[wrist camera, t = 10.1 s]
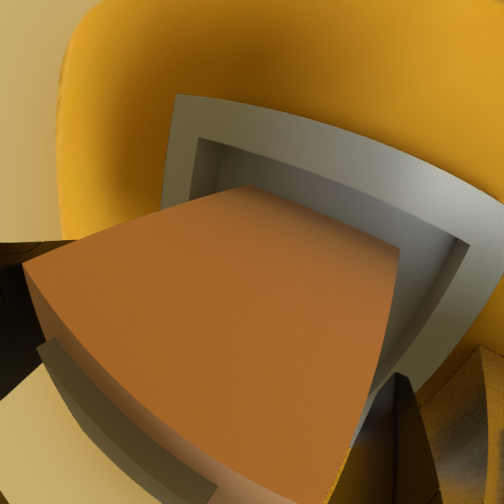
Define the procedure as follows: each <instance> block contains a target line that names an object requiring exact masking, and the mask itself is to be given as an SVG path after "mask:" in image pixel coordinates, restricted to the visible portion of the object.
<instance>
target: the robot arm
mask: <svg viewBox="0 0 504 504" xmlns="http://www.w3.org/2000/svg"><path fill="white" fill-rule="evenodd" d="M74 241H77V240H62V241H44V242H21V243H0V401H1V400H2V399H3V398H4V397H6V396H7V395H8V394H9V393H10V392H11V391H12V390H13V389H14V388H15V387H16V386H17V385H19V384H20V383H21V382H22V381H23V380H24V379H25V378H26V377H27V376H28V375H30V374H31V373H32V372H33V371H34V370H35V369H36V368H37V367H38V366H39V365H40V364H42V363H43V361H42V359H41V357H40V355H39V353H38V351H37V349H36V348H37V347H38V346H40V345H42V344H43V343H45V342H47V341H46V339H45V336H44V333H43V331H42V328H41V325H40V323H39V320H38V317H37V314H36V311H35V308H34V305H33V302H32V299H31V295H30V292H29V289H28V285H27V281H26V278H25V274H24V270H23V266H22V263H24V262H26V261H29V260H31V259H33V258H35V257H38V256H40V255H42V254H45V253H47V252H49V251H52V250H54V249H57V248H59V247H62V246H64V245H66V244H69V243H71V242H74ZM439 488H440V485H439V480H438V476H437V471H436V467H435V463H434V459H433V455H432V451H431V447H430V443H429V440H428V436H427V432H426V429H425V426H424V422H423V419H422V416H421V412H420V409H419V406H418V403H417V400H416V397H415V394H414V391H413V388H412V385H411V382H410V379H409V378H408V377H407V376H405V375H403V374H401V373H399V372H395V373H393V374H392V375H391V376H390V378H389V379H388V380H387V381H386V382H385V383H384V385H383V386H382V387H381V388H380V389H379V391H378V392H377V394H376V396H375V398H374V400H373V403H372V405H371V407H370V409H369V412H368V414H367V416H366V418H365V421H364V423H363V425H362V427H361V429H360V431H359V433H358V435H357V437H356V439H355V441H354V444H353V446H352V449H351V451H350V454H349V456H348V459H347V461H346V464H345V466H344V469H343V471H342V474H341V476H340V478H339V480H338V483H337V485H336V487H335V489H334V492H333V494H332V496H331V498H330V500H329V502H328V504H443V500H442V494H441V490H439ZM0 504H9V503H8V501H7V500H6V498H5V497H4V495H3V494H2V492H1V491H0Z"/></svg>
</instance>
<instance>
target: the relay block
mask: <svg viewBox="0 0 504 504" xmlns="http://www.w3.org/2000/svg"><path fill="white" fill-rule="evenodd" d="M399 252H400V248H398V247H395V246H393V245H391V244H389V243H387V242H385V241H383V240H381V239H379V238H376V237H374V236H372V235H370V234H368V233H366V232H363V231H361V230H359V229H357V228H355V227H352V226H350V225H348V224H346V223H343V222H341V221H339V220H336V219H334V218H332V217H329V216H327V215H325V214H322V213H320V212H318V211H315V210H313V209H311V208H308V207H306V206H303V205H301V204H298V203H296V202H293V201H291V200H288V199H286V198H283V197H281V196H278V195H276V194H273V193H271V192H268V191H266V190H263V189H260V188H258V187H255V186H252V185H250V184H247V185H244V186H240V187H236V188H233V189H229V190H226V191H222V192H219V193H215V194H212V195H208V196H205V197H202V198H198V199H195V200H192V201H188V202H185V203H182V204H179V205H176V206H172V207H169V208H166V209H163V210H160V211H157V212H154V213H151V214H148V215H145V216H142V217H139V218H136V219H133V220H130V221H128V222H125V223H122V224H119V225H116V226H114V227H111V228H108V229H105V230H103V231H100V232H97V233H95V234H92V235H89V236H87V237H84V238H82V239H79V240H77V241H74V242H71V243H69V244H66V245H64V246H62V247H59V248H57V249H54V250H52V251H49V252H47V253H45V254H42V255H40V256H38V257H35V258H33V259H31V260H29V261H26V262H24V263H22V266H23V270H24V274H25V278H26V281H27V285H28V289H29V292H30V295H31V299H32V302H33V305H34V308H35V311H36V314H37V317H38V320H39V323H40V325H41V328H42V331H43V333H44V336H45V339H46V341H47V342H45V343H43V344H42V345H40V346H38V347H37V348H36V349H37V351H38V353H39V355H40V357H41V359H42V361H43V363H44V365H45V367H46V369H47V371H48V373H49V375H50V377H51V379H52V381H53V383H54V385H55V386H56V388H57V390H58V392H59V393H60V395H61V397H62V399H63V400H64V402H65V404H66V405H67V407H68V409H69V410H70V412H71V413H72V415H73V417H74V418H75V420H76V421H77V423H78V424H79V426H80V427H81V429H82V430H83V431H84V432H85V434H86V435H87V436H88V437H89V438H90V439H91V440H92V441H93V442H94V443H95V444H96V445H97V447H98V448H100V449H101V451H102V452H103V453H105V455H106V456H107V457H108V458H109V459H110V460H111V461H112V462H114V463H115V464H116V465H117V466H118V467H119V468H120V469H121V470H122V471H123V472H125V474H127V475H128V476H129V477H130V478H131V479H132V480H133V481H135V482H136V483H137V484H138V485H139V486H141V487H142V488H143V489H144V490H146V491H147V492H148V493H149V494H151V495H152V496H153V497H154V498H156V499H157V500H158V501H160V502H161V503H162V504H322V503H323V501H324V499H325V497H326V495H327V493H328V491H329V489H330V487H331V485H332V483H333V481H334V479H335V477H336V475H337V473H338V471H339V468H340V466H341V464H342V462H343V459H344V457H345V455H346V452H347V450H348V448H349V445H350V443H351V440H352V438H353V435H354V433H355V430H356V427H357V425H358V422H359V419H360V417H361V414H362V411H363V408H364V405H365V402H366V399H367V396H368V393H369V390H370V387H371V383H372V380H373V377H374V373H375V370H376V366H377V363H378V359H379V355H380V352H381V348H382V344H383V340H384V335H385V331H386V327H387V322H388V317H389V313H390V308H391V303H392V297H393V292H394V286H395V280H396V274H397V267H398V260H399Z"/></svg>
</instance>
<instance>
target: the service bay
mask: <svg viewBox="0 0 504 504" xmlns="http://www.w3.org/2000/svg"><path fill="white" fill-rule="evenodd" d="M247 184H250V185H252V186H255V187H258V188H260V189H263V190H266V191H268V192H271V193H273V194H276V195H278V196H281V197H283V198H286V199H288V200H291V201H293V202H296V203H298V204H301V205H303V206H306V207H308V208H311V209H313V210H315V211H318V212H320V213H322V214H325V215H327V216H329V217H332V218H334V219H336V220H339V221H341V222H343V223H346V224H348V225H350V226H352V227H355V228H357V229H359V230H361V231H363V232H366V233H368V234H370V235H372V236H374V237H376V238H379V239H381V240H383V241H385V242H387V243H389V244H391V245H393V246H395V247H398V248H400V252H399V260H398V267H397V274H396V280H395V286H394V292H393V297H392V303H391V308H390V313H389V317H388V322H387V327H386V331H385V335H384V340H383V344H382V348H381V352H380V355H379V359H378V363H377V366H376V370H375V373H374V377H373V380H372V383H371V387H370V390H369V393H368V396H367V399H366V402H365V405H364V408H363V411H362V414H361V417H360V419H359V422H358V425H357V427H356V430H355V433H354V435H353V438H352V440H351V443H350V445H349V447H350V448H352V446H353V444H354V441H355V439H356V437H357V435H358V433H359V431H360V429H361V427H362V425H363V423H364V421H365V418H366V416H367V414H368V412H369V409H370V407H371V405H372V403H373V400H374V398H375V396H376V394H377V392H378V391H379V389H380V388H381V387H382V386H383V385H384V383H385V382H386V381H387V380H388V379H389V378H390V376H391V375H392V374H393V373H395V372H399V373H401V374H403V375H405V376H407V377H408V378H409V379H410V382H411V385H412V388H413V391H414V394H415V393H416V392H417V391H418V390H419V389H420V388H421V387H422V386H423V384H424V383H425V382H426V381H427V380H428V379H429V378H430V377H431V376H432V374H433V373H434V372H435V371H436V370H437V369H438V368H439V366H440V365H441V364H442V363H443V362H444V360H445V359H446V358H447V357H448V356H449V354H450V353H451V352H452V351H453V349H454V348H455V347H456V345H457V344H458V343H459V342H460V340H461V339H462V338H463V336H464V335H465V333H466V332H467V331H468V329H469V328H470V326H471V325H472V324H473V322H474V321H475V319H476V318H477V316H478V315H479V313H480V312H481V310H482V309H483V307H484V306H485V304H486V302H487V301H488V299H489V298H490V296H491V294H492V293H493V291H494V289H495V288H496V286H497V284H498V282H499V281H500V279H501V277H502V275H503V273H504V204H503V203H501V202H500V201H498V200H496V199H495V198H493V197H492V196H490V195H488V194H487V193H485V192H483V191H482V190H480V189H478V188H476V187H475V186H473V185H471V184H469V183H467V182H466V181H464V180H462V179H460V178H458V177H456V176H454V175H452V174H450V173H448V172H446V171H444V170H442V169H440V168H438V167H436V166H434V165H432V164H430V163H428V162H426V161H424V160H422V159H419V158H417V157H415V156H413V155H410V154H408V153H406V152H403V151H401V150H399V149H396V148H394V147H391V146H389V145H386V144H384V143H381V142H379V141H376V140H373V139H371V138H368V137H365V136H362V135H360V134H357V133H354V132H351V131H348V130H345V129H342V128H339V127H336V126H333V125H329V124H326V123H323V122H319V121H316V120H313V119H309V118H305V117H302V116H298V115H294V114H290V113H286V112H282V111H278V110H274V109H270V108H265V107H261V106H256V105H251V104H246V103H241V102H235V101H230V100H224V99H218V98H211V97H203V96H195V95H186V94H176V98H175V104H174V109H173V115H172V121H171V127H170V134H169V141H168V148H167V155H166V163H165V171H164V180H163V190H162V200H161V210H163V209H166V208H169V207H172V206H176V205H179V204H182V203H185V202H188V201H192V200H195V199H198V198H202V197H205V196H208V195H212V194H215V193H219V192H222V191H226V190H229V189H233V188H236V187H240V186H244V185H247Z"/></svg>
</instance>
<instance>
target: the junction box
mask: <svg viewBox="0 0 504 504" xmlns="http://www.w3.org/2000/svg"><path fill="white" fill-rule="evenodd" d="M420 412H421V416H422V419H423V422H424V426H425V429H426V432H427V436H428V440H429V443H430V447H431V451H432V455H433V459H434V463H435V467H436V471H437V476H438V480H439V485H440V488H439V490H441V494H442V500H443V504H504V357H502V356H500V355H498V354H496V353H495V352H493V351H491V350H489V349H487V348H485V347H483V346H481V345H478V346H477V348H476V349H475V350H474V352H473V353H472V354H471V355H470V356H469V358H468V359H467V360H466V361H465V363H464V364H463V365H462V366H461V367H460V368H459V369H458V371H457V372H456V373H455V374H454V375H453V376H452V377H451V378H450V380H449V381H448V382H447V383H446V384H445V385H444V386H443V387H442V388H441V389H440V390H439V391H438V392H437V393H436V394H435V395H434V396H433V397H432V398H431V399H430V400H429V401H428V402H427V403H426V404H425V405H424V406H423V407H422V408H421V409H420Z"/></svg>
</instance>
